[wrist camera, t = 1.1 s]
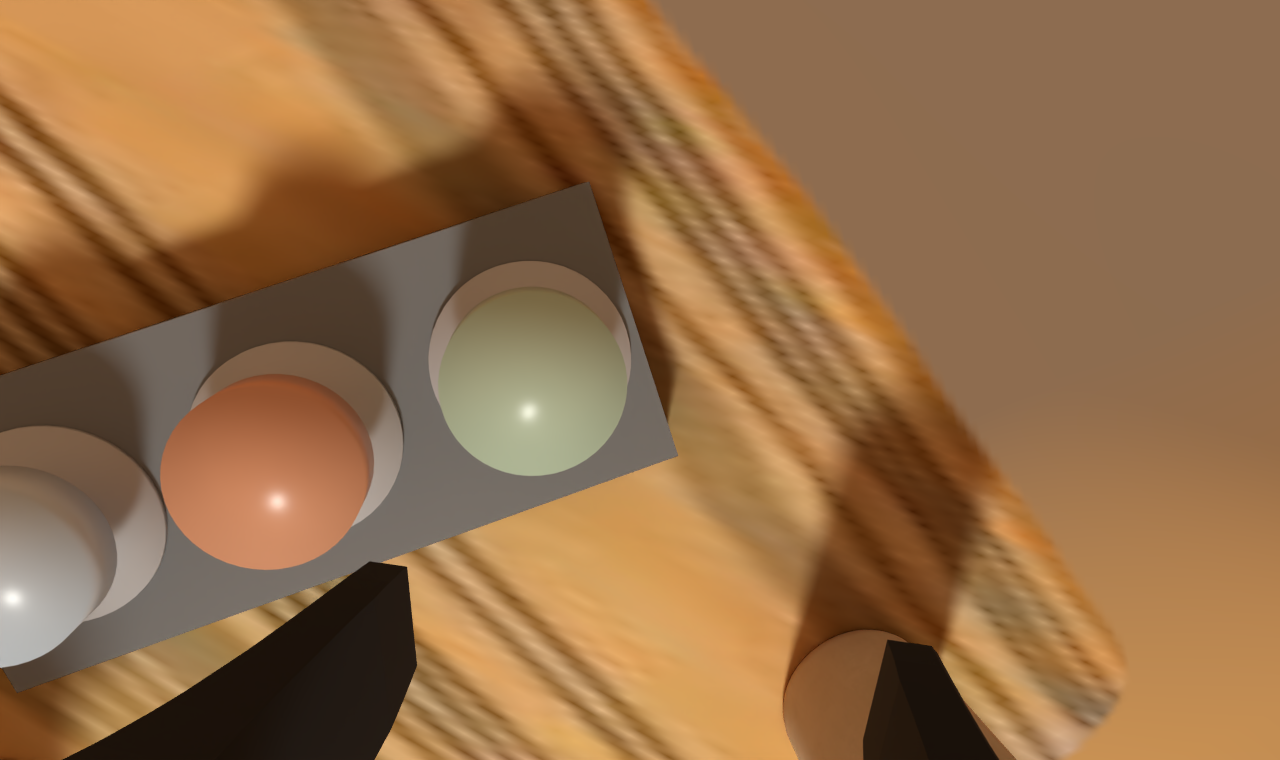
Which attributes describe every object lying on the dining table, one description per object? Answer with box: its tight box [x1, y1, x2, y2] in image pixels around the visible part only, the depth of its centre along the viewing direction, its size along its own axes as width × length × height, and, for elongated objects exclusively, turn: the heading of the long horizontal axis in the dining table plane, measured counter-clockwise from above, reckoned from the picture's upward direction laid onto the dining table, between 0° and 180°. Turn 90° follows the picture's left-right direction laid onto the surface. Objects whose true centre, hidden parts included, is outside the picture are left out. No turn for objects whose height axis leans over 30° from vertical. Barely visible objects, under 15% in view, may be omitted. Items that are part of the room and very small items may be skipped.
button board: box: [0, 182, 678, 693], centre depth 22 cm, size 19×8×2 cm, turn 108°
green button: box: [438, 287, 627, 476], centre depth 20 cm, size 4×4×1 cm
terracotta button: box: [160, 374, 374, 570], centre depth 19 cm, size 4×4×1 cm
